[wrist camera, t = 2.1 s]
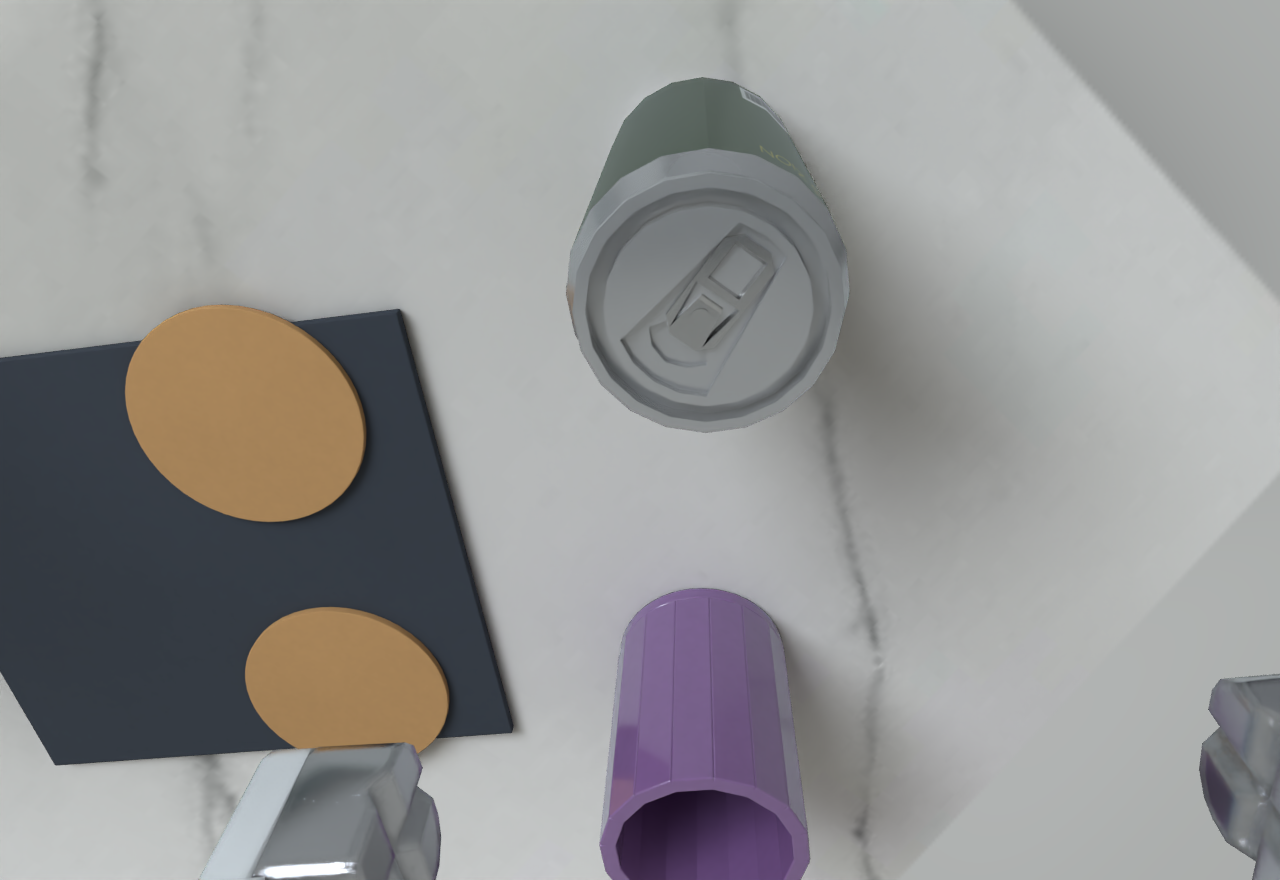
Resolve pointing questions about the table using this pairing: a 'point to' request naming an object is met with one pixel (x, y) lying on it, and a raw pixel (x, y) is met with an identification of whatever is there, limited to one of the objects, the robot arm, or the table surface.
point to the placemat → (235, 545)
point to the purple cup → (703, 747)
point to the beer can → (706, 263)
